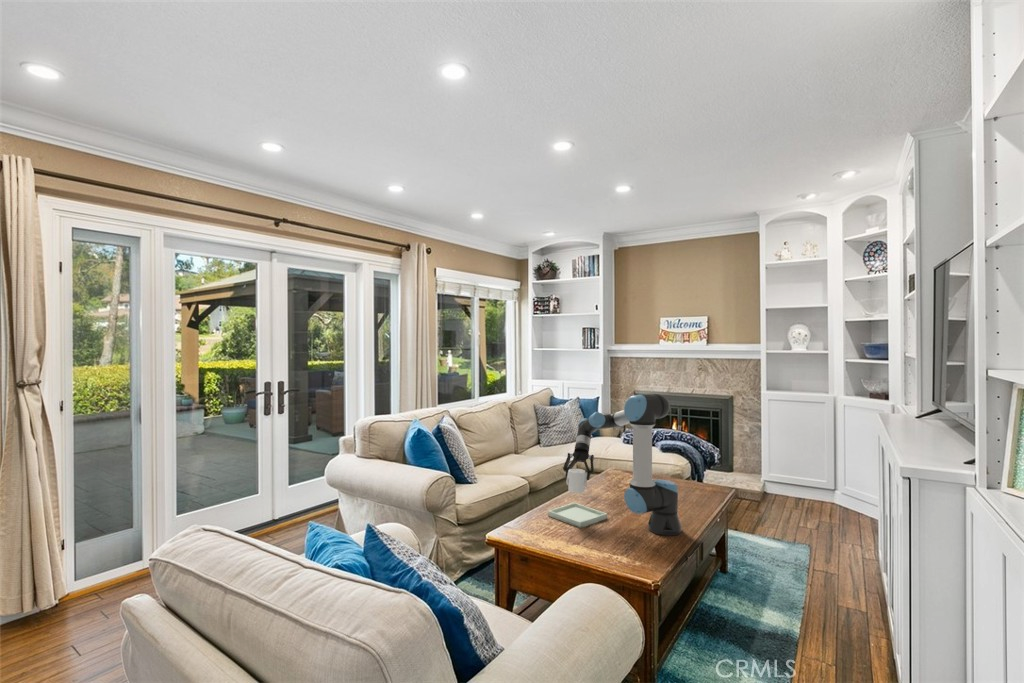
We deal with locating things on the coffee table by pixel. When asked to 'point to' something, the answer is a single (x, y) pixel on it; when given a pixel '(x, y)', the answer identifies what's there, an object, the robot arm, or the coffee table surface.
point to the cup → (576, 480)
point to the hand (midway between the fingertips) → (576, 484)
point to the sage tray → (577, 515)
